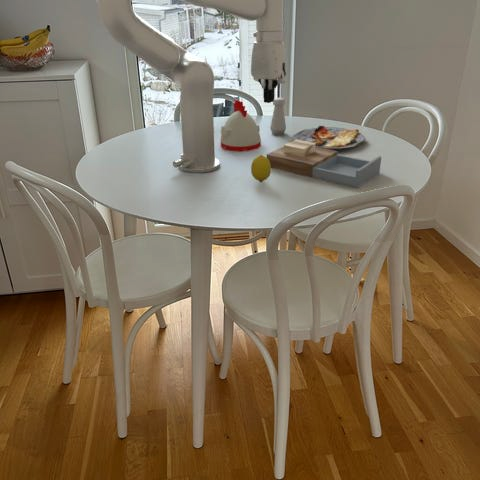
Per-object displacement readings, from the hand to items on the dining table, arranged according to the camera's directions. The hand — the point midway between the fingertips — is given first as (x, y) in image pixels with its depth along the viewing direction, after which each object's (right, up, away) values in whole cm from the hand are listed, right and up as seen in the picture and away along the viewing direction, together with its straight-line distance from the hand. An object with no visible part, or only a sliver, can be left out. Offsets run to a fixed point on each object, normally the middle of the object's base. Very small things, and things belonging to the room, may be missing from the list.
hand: (268, 101), depth 152 cm
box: (+22, -23, -7) cm, 33 cm away
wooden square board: (+10, -19, +1) cm, 22 cm away
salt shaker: (+5, -3, +32) cm, 33 cm away
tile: (+9, -15, 0) cm, 18 cm away
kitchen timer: (-9, -10, +21) cm, 24 cm away
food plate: (+22, -8, +23) cm, 33 cm away
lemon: (-3, -26, -11) cm, 28 cm away
